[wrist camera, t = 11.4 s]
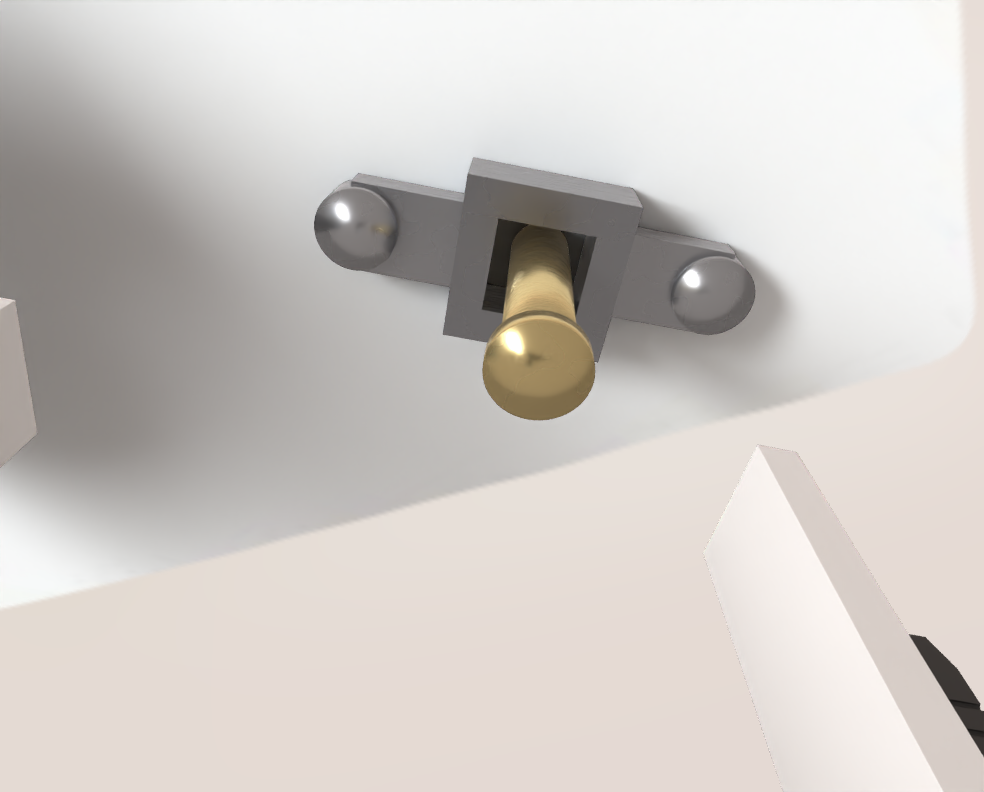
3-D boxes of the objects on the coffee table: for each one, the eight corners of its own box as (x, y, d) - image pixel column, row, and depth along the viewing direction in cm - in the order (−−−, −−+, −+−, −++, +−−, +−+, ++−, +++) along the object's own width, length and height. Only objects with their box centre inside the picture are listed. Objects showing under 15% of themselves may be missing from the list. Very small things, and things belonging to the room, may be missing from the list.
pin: (495, 279, 36) (474, 409, 25) (508, 206, 34) (492, 312, 23) (568, 293, 36) (580, 428, 25) (586, 220, 34) (607, 333, 23)
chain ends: (322, 283, 37) (303, 309, 34) (330, 129, 33) (309, 143, 30) (714, 355, 38) (730, 386, 35) (769, 215, 34) (793, 236, 31)
